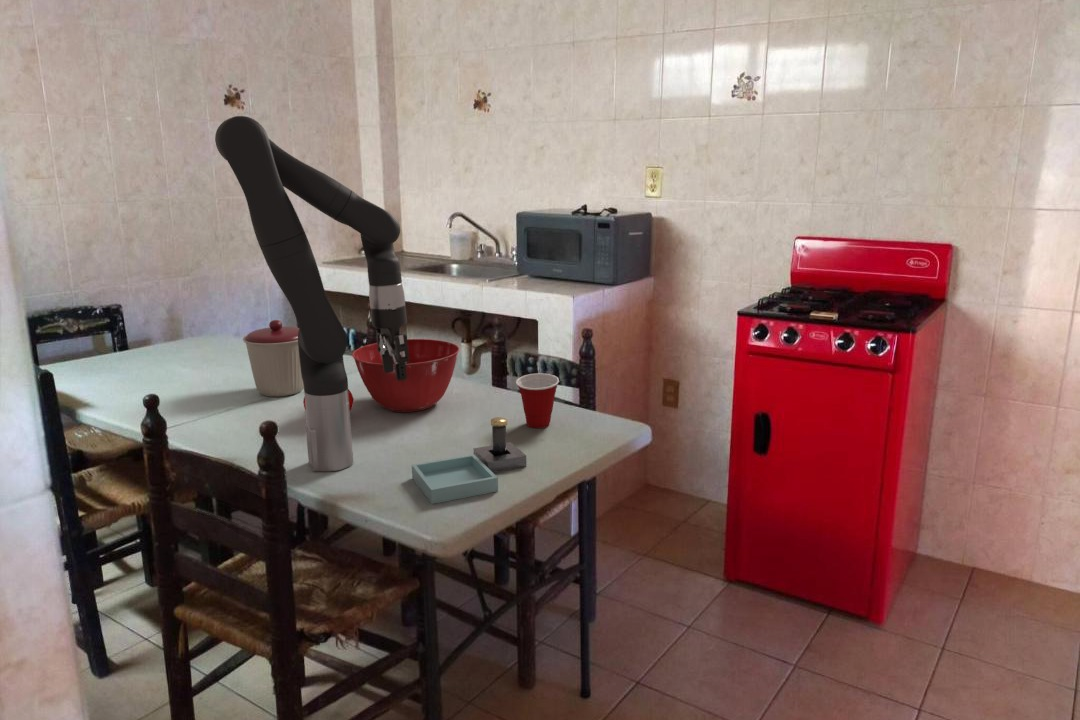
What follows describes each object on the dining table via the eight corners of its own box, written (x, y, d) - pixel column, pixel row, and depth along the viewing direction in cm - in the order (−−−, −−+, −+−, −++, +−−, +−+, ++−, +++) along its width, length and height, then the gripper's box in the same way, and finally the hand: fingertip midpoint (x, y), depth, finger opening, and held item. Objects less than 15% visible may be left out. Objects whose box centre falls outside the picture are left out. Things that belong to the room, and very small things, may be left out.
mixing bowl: (334, 405, 214) (330, 350, 210) (417, 383, 235) (415, 332, 231) (398, 429, 196) (395, 370, 192) (482, 403, 216) (481, 348, 212)
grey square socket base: (488, 473, 169) (487, 462, 169) (473, 458, 177) (473, 448, 176) (526, 466, 173) (526, 455, 172) (510, 452, 181) (510, 442, 180)
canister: (313, 380, 238) (307, 312, 232) (315, 397, 221) (309, 324, 216) (249, 385, 232) (242, 316, 227) (247, 404, 216) (239, 329, 210)
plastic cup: (508, 427, 197) (507, 381, 194) (529, 415, 206) (529, 371, 203) (546, 434, 192) (546, 387, 189) (566, 421, 201) (566, 376, 198)
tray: (431, 503, 155) (431, 489, 154) (412, 477, 167) (411, 464, 166) (498, 491, 160) (497, 477, 159) (474, 466, 173) (474, 454, 172)
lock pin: (495, 466, 173) (494, 423, 170) (489, 461, 176) (488, 418, 173) (510, 464, 174) (509, 421, 172) (504, 458, 177) (503, 416, 175)
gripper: (361, 302, 175) (369, 372, 179) (381, 311, 163) (389, 386, 167) (393, 297, 179) (400, 366, 183) (415, 306, 167) (422, 379, 171)
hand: (395, 375), depth 175 cm, fingers open, 8 cm apart
